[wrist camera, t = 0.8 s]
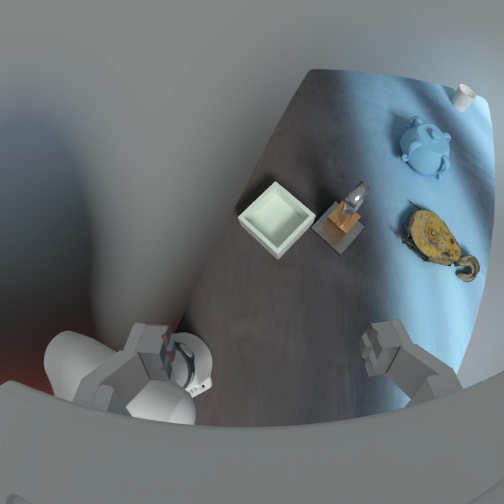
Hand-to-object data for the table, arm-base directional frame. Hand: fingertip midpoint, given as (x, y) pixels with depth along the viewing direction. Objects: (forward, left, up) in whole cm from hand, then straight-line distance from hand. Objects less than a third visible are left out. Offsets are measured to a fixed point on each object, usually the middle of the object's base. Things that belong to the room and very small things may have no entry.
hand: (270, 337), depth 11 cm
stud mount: (+27, +5, -56) cm, 63 cm away
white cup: (+107, -1, -57) cm, 121 cm away
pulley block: (+44, -21, -57) cm, 75 cm away
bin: (+17, +17, -56) cm, 61 cm away
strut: (+27, +5, -55) cm, 62 cm away
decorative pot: (+65, 0, -57) cm, 86 cm away
